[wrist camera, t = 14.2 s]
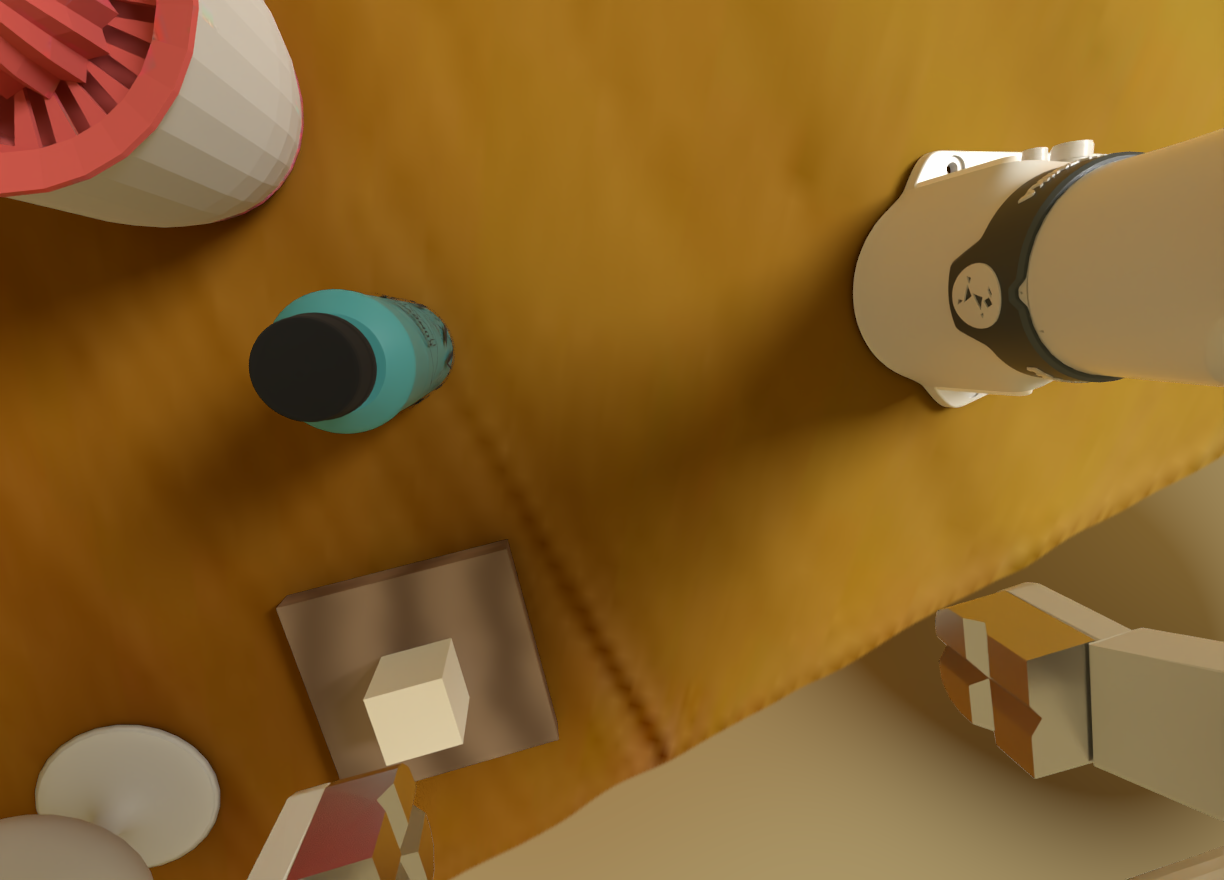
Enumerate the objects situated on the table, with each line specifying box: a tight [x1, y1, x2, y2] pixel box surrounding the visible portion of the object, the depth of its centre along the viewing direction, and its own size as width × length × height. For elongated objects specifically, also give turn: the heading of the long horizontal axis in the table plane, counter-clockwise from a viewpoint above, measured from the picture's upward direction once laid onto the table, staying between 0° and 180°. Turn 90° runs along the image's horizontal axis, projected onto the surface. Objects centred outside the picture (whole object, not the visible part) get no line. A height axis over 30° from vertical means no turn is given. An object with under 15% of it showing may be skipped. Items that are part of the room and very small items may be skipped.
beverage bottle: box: [249, 289, 455, 434], centre depth 31 cm, size 6×7×20 cm
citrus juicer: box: [0, 0, 304, 228], centre depth 27 cm, size 16×17×20 cm
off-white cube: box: [363, 638, 470, 766], centre depth 41 cm, size 5×5×5 cm
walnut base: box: [276, 539, 559, 781], centre depth 44 cm, size 16×16×2 cm
